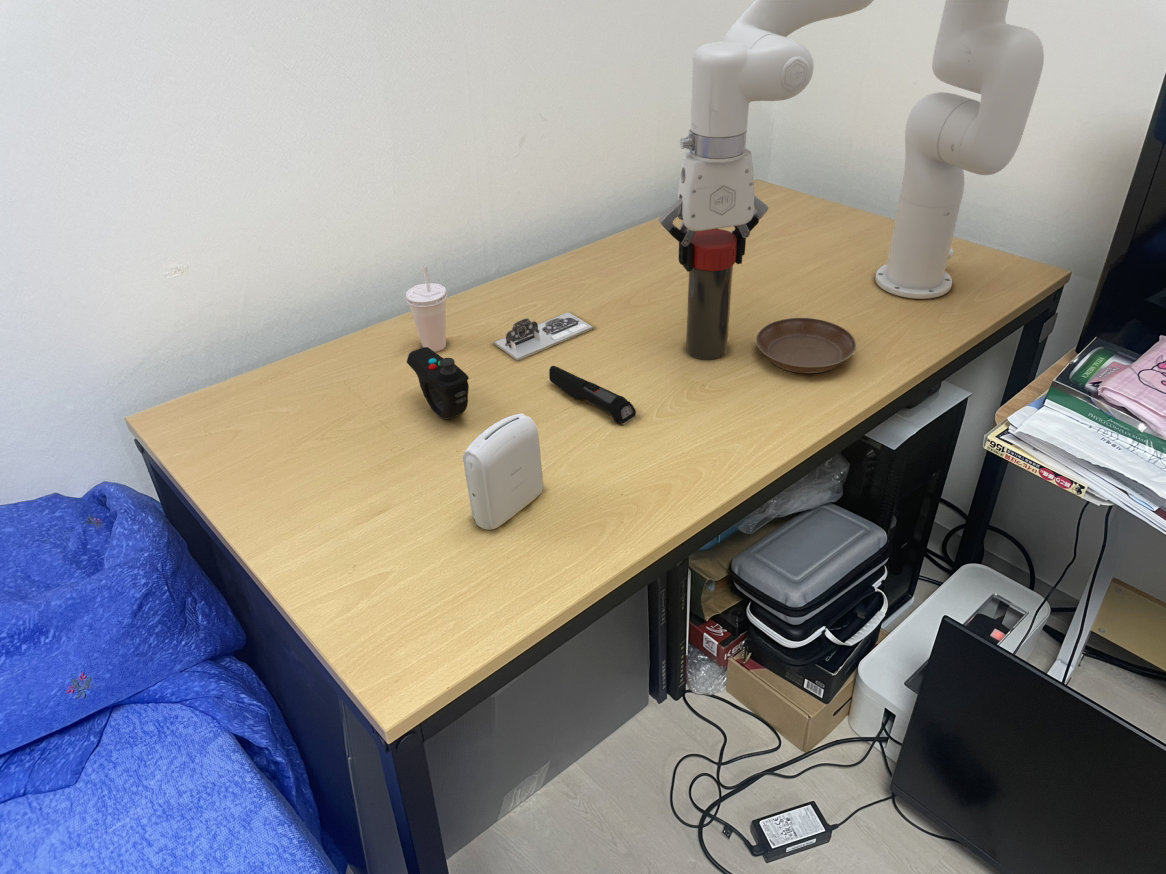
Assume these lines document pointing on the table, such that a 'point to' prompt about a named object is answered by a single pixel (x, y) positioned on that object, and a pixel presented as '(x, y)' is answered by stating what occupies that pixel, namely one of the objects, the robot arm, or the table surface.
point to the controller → (440, 382)
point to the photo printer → (503, 470)
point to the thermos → (708, 313)
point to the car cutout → (540, 335)
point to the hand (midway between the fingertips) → (711, 263)
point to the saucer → (805, 344)
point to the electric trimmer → (593, 395)
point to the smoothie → (429, 312)
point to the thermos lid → (714, 249)
